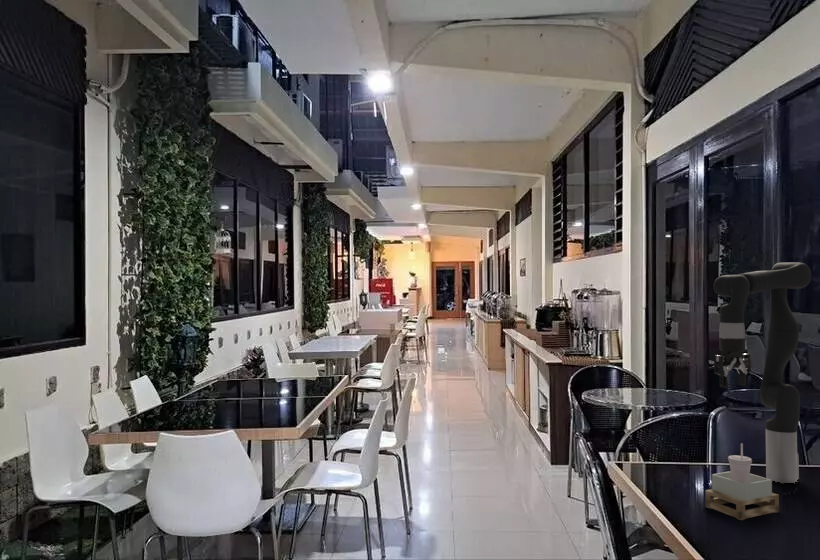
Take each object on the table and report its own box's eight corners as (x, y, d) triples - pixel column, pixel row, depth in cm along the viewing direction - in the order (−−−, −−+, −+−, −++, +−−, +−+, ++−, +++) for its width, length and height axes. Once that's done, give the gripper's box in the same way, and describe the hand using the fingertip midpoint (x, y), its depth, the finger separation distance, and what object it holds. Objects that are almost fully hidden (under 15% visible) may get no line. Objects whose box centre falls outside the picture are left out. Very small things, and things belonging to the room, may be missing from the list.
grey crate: (737, 484, 193) (737, 469, 193) (771, 495, 182) (771, 479, 183) (712, 489, 188) (712, 474, 188) (745, 500, 178) (745, 484, 178)
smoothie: (755, 494, 181) (755, 446, 182) (731, 493, 183) (731, 445, 183) (748, 487, 188) (747, 441, 188) (725, 486, 189) (724, 440, 189)
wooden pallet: (742, 499, 194) (742, 483, 194) (778, 511, 183) (778, 494, 183) (705, 506, 187) (705, 490, 187) (741, 520, 176) (741, 502, 177)
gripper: (737, 335, 208) (737, 383, 208) (706, 336, 202) (707, 386, 202) (757, 336, 202) (758, 386, 201) (726, 338, 196) (727, 389, 195)
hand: (732, 386), depth 202 cm, fingers open, 8 cm apart
